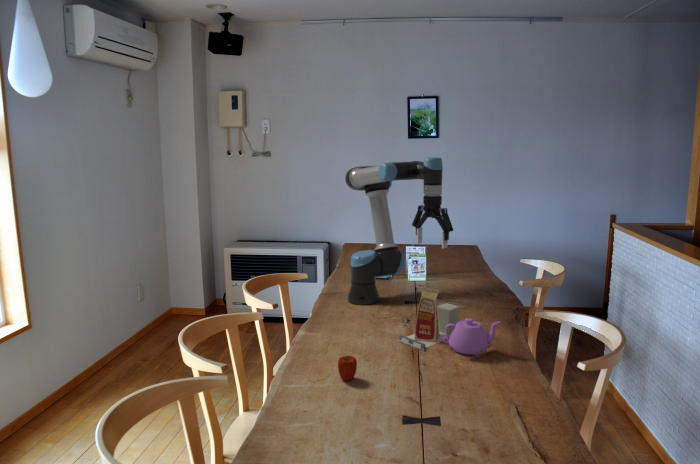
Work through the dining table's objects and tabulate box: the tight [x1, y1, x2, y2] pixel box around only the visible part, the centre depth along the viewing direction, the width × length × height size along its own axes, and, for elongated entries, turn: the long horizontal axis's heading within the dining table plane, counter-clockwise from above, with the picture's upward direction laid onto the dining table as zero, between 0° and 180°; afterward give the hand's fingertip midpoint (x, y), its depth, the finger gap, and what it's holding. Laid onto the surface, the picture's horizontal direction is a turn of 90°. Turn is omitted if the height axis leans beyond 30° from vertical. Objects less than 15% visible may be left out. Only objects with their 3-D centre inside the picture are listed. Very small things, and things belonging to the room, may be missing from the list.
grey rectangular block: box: [437, 302, 460, 335], centre depth 211 cm, size 6×6×10 cm
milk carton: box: [414, 285, 441, 342], centre depth 204 cm, size 9×9×20 cm
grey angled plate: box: [398, 332, 450, 352], centre depth 207 cm, size 12×24×3 cm, turn 131°
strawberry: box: [337, 355, 358, 382], centre depth 173 cm, size 6×6×8 cm
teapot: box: [442, 317, 501, 359], centre depth 193 cm, size 20×14×12 cm
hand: (431, 245), depth 226 cm, fingers open, 13 cm apart
